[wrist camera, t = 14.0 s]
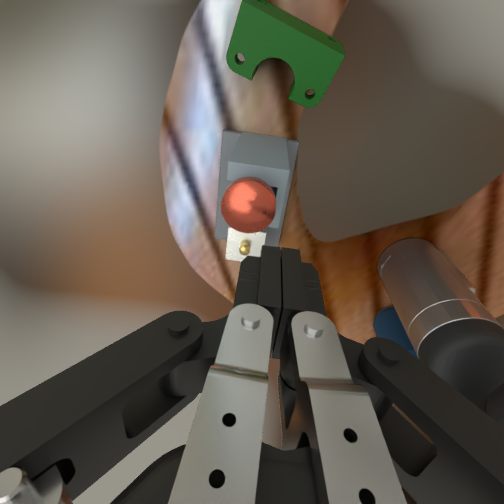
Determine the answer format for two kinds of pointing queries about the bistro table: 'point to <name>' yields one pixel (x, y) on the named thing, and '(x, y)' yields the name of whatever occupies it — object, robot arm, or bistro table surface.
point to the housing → (244, 244)
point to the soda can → (392, 329)
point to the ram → (248, 205)
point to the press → (257, 172)
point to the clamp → (284, 49)
